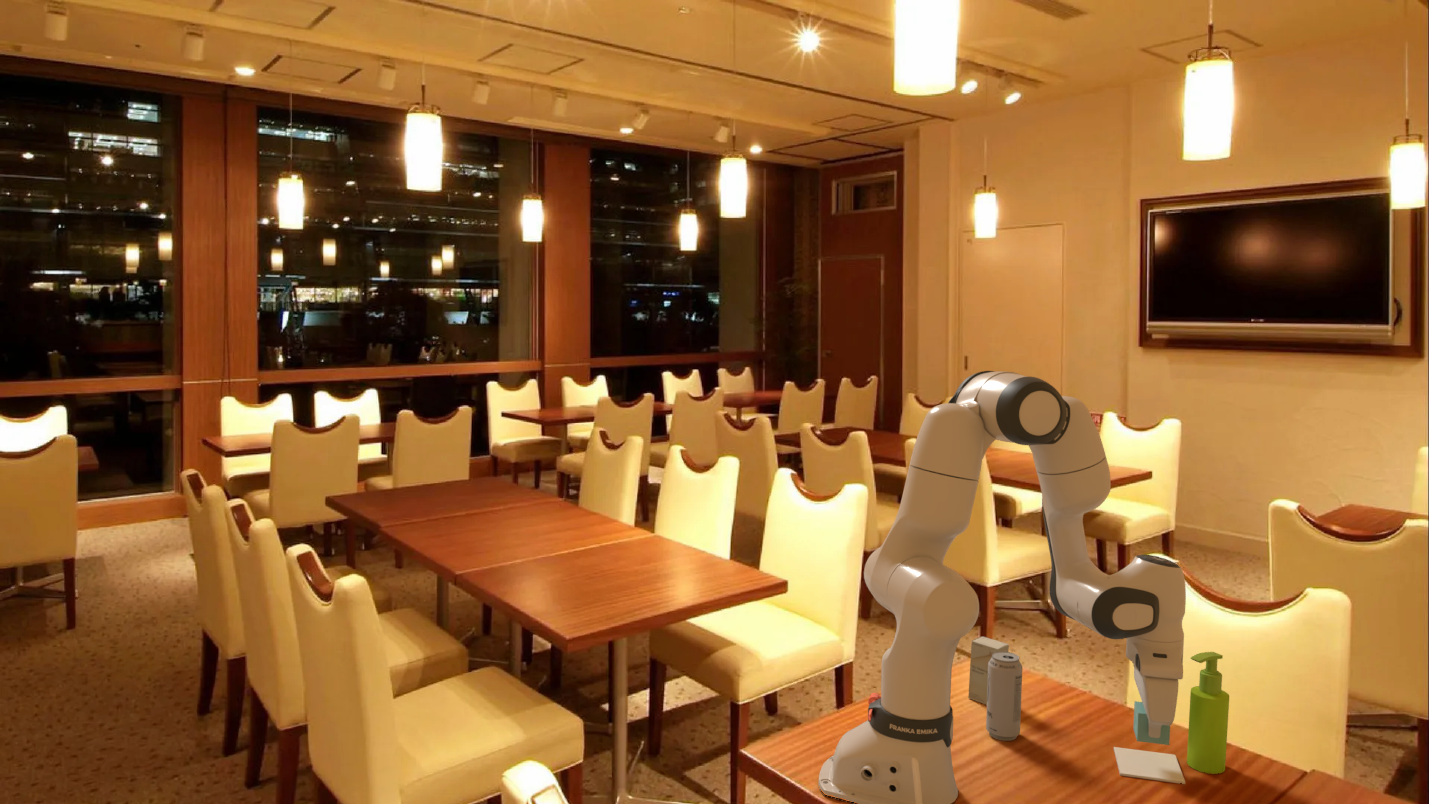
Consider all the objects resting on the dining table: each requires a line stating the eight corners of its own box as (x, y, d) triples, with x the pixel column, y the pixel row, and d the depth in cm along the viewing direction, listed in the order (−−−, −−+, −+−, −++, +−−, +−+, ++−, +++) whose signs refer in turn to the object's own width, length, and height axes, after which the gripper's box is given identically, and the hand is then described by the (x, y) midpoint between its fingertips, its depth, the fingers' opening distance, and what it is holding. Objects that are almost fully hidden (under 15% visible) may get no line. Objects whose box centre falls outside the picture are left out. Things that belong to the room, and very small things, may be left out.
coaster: (1120, 775, 160) (1120, 773, 160) (1113, 748, 169) (1113, 746, 169) (1185, 784, 157) (1185, 781, 157) (1174, 756, 166) (1175, 754, 166)
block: (1137, 741, 161) (1138, 713, 160) (1133, 728, 166) (1134, 701, 165) (1169, 745, 159) (1170, 716, 159) (1164, 732, 164) (1165, 704, 164)
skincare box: (967, 698, 191) (969, 640, 190) (979, 692, 194) (981, 635, 193) (995, 708, 186) (997, 648, 185) (1007, 702, 189) (1009, 643, 188)
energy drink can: (988, 725, 179) (991, 648, 177) (1021, 731, 176) (1024, 653, 175) (983, 738, 173) (986, 659, 172) (1017, 744, 171) (1020, 664, 169)
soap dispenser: (1174, 762, 164) (1180, 650, 162) (1203, 755, 167) (1210, 645, 165) (1203, 777, 159) (1209, 662, 157) (1233, 770, 162) (1239, 657, 160)
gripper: (1126, 628, 172) (1123, 701, 173) (1142, 669, 152) (1138, 751, 154) (1164, 631, 170) (1161, 705, 171) (1185, 674, 151) (1181, 757, 152)
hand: (1150, 727), depth 162 cm, fingers closed on block, 5 cm apart
